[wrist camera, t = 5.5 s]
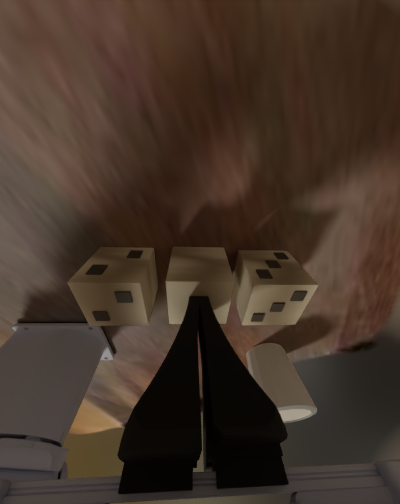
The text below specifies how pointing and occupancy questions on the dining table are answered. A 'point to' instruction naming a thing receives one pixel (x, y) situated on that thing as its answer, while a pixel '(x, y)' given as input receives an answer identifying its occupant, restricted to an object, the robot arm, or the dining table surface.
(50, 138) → the dining table surface
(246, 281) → the dotted block three
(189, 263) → the plain block
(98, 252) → the dotted block two
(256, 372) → the cream short cylinder
